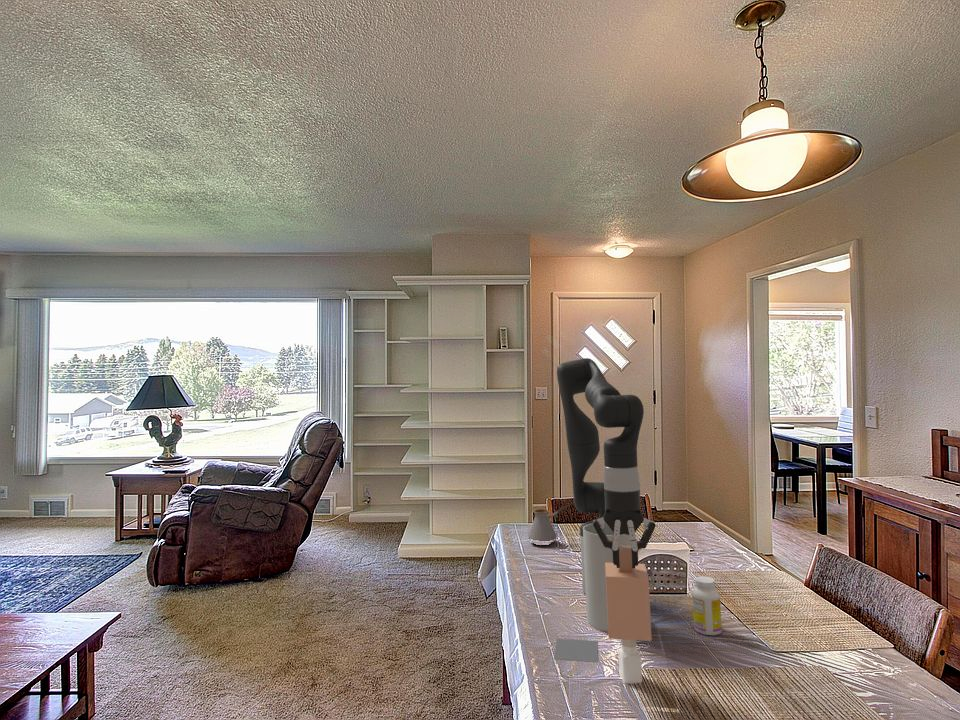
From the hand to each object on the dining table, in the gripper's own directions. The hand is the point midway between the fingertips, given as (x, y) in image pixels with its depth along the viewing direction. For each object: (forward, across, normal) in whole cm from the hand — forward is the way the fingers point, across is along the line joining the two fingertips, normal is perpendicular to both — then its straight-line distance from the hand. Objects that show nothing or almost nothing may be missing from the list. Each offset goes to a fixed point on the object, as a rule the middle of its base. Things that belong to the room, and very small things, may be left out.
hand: (625, 566), depth 115 cm
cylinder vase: (+25, +3, -27) cm, 37 cm away
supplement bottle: (+25, -21, -26) cm, 42 cm away
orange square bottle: (+13, 0, 0) cm, 13 cm away
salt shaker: (+25, 0, 0) cm, 25 cm away
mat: (+24, +12, -11) cm, 29 cm away
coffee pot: (+25, +23, -98) cm, 103 cm away
